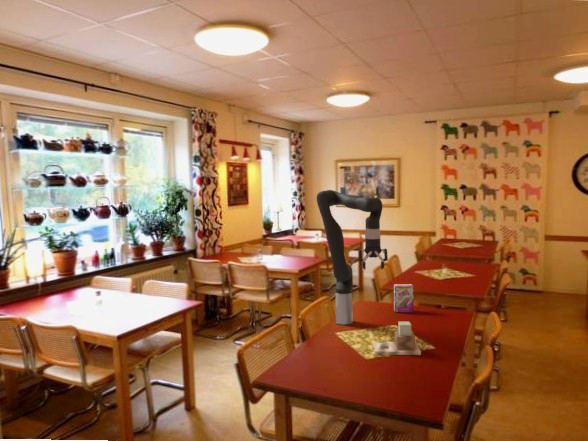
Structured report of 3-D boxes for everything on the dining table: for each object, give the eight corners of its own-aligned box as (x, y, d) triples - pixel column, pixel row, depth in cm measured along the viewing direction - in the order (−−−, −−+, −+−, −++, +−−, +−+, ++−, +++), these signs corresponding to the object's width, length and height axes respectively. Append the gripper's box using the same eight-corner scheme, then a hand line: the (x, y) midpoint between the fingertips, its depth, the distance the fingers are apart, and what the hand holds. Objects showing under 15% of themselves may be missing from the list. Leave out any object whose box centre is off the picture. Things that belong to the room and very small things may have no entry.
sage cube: (400, 335, 188) (399, 325, 188) (398, 332, 193) (398, 321, 193) (411, 335, 188) (411, 325, 187) (409, 332, 193) (409, 321, 192)
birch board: (375, 354, 186) (375, 351, 186) (373, 344, 198) (373, 341, 198) (420, 355, 184) (420, 351, 184) (415, 344, 196) (415, 341, 196)
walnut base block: (397, 349, 187) (397, 336, 187) (394, 343, 195) (394, 330, 195) (415, 349, 186) (415, 336, 186) (412, 343, 194) (412, 330, 194)
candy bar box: (395, 312, 248) (394, 285, 246) (393, 310, 253) (393, 284, 251) (414, 312, 246) (413, 285, 245) (412, 310, 251) (412, 283, 250)
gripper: (386, 236, 211) (386, 267, 213) (358, 236, 213) (358, 268, 214) (388, 238, 204) (388, 270, 205) (358, 238, 205) (359, 270, 207)
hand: (373, 269), depth 210 cm, fingers open, 8 cm apart
